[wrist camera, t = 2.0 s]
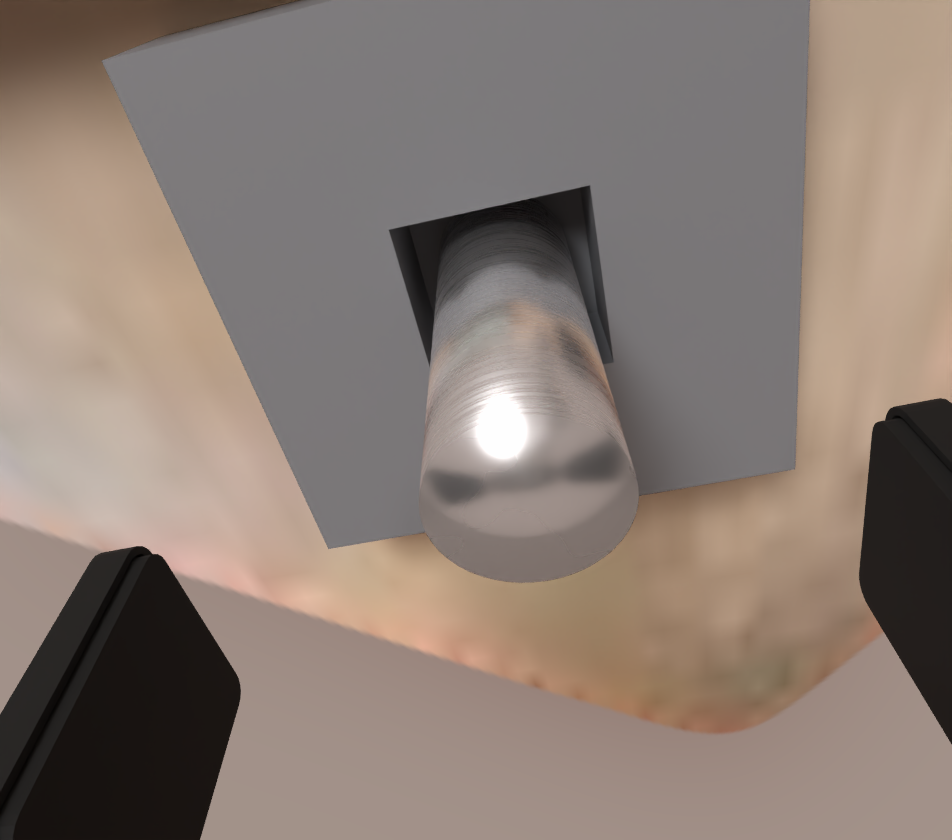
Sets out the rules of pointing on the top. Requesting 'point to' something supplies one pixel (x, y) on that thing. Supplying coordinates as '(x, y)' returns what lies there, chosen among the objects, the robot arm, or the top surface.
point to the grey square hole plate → (482, 186)
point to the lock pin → (519, 407)
